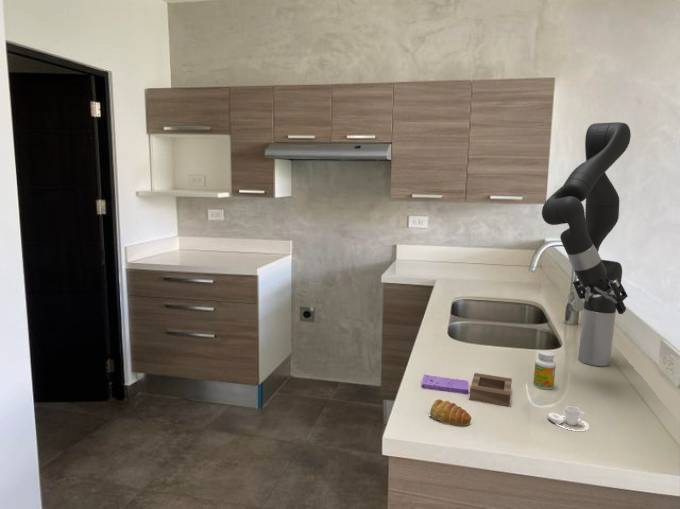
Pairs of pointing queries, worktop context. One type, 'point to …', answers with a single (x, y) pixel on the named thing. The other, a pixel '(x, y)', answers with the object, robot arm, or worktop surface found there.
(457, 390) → the sponges
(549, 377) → the supplement bottle
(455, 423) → the pastry
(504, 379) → the bottle holder
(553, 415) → the teacup and saucer
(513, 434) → the worktop surface
